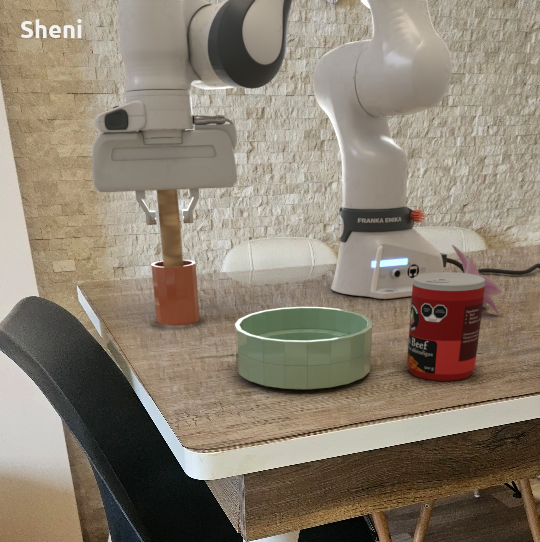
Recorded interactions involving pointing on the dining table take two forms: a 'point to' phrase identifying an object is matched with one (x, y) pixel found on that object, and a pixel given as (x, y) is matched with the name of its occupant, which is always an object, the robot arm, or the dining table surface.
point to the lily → (490, 285)
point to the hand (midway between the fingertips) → (169, 223)
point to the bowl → (303, 347)
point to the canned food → (445, 325)
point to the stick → (170, 227)
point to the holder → (175, 293)
